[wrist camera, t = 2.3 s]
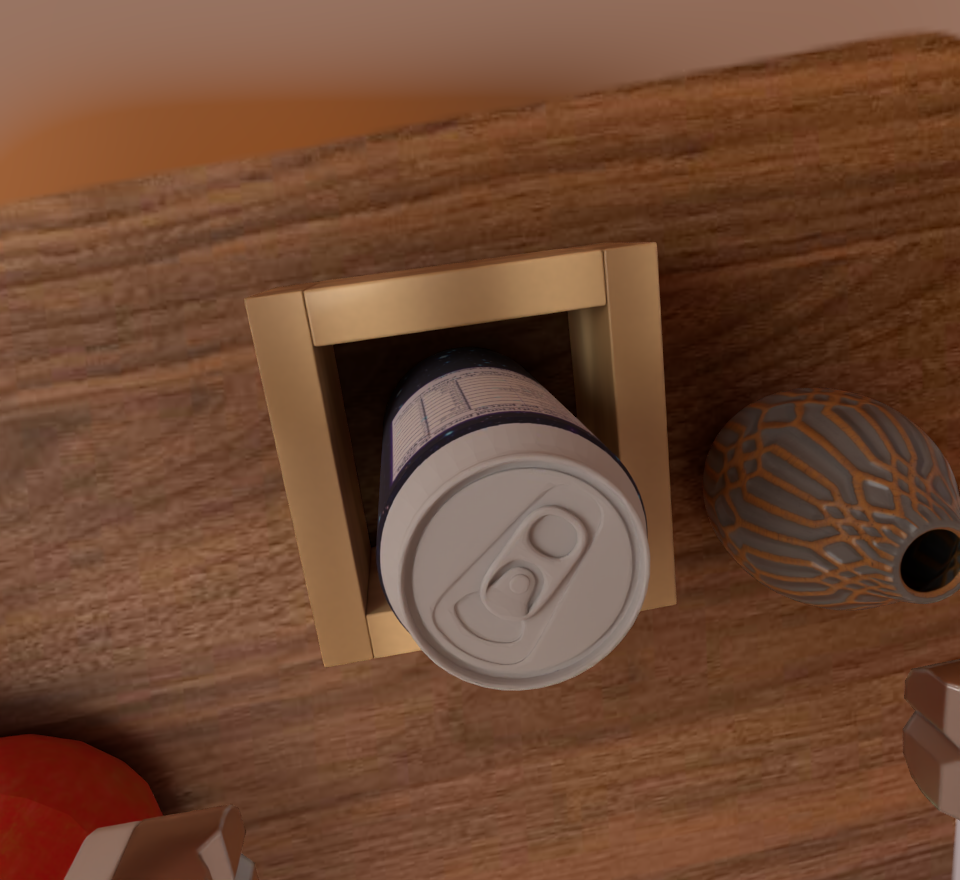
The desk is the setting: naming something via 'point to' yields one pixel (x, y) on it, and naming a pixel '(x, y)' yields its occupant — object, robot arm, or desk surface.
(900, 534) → the vase
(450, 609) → the beverage can
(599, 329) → the holder
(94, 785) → the apple
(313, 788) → the desk surface
